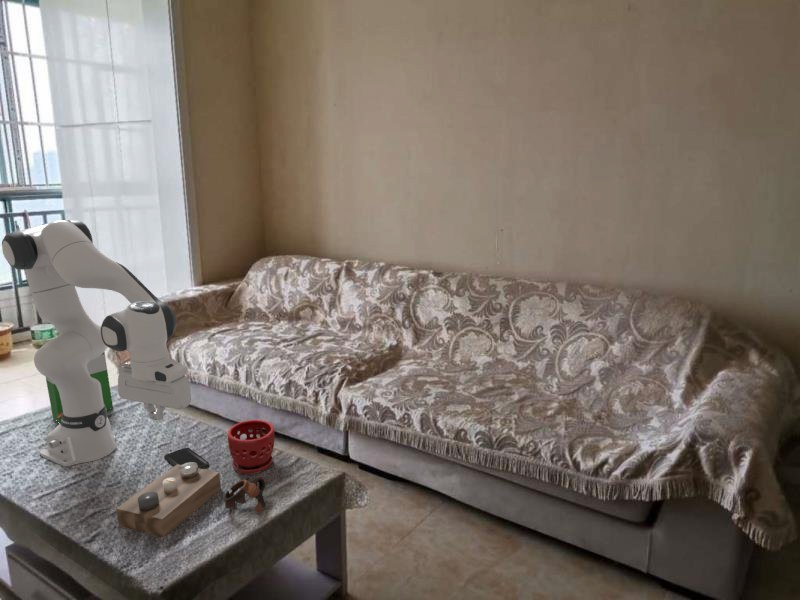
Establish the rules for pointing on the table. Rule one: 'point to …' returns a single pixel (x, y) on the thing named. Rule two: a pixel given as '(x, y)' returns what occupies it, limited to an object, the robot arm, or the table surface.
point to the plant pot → (251, 446)
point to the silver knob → (189, 470)
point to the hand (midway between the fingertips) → (156, 418)
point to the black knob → (148, 501)
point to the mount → (169, 502)
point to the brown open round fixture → (249, 489)
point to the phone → (185, 458)
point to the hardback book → (96, 371)
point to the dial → (169, 485)
